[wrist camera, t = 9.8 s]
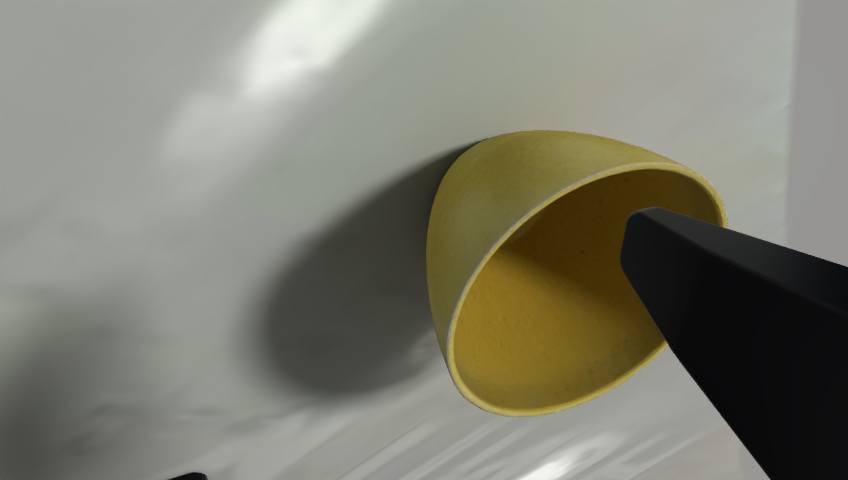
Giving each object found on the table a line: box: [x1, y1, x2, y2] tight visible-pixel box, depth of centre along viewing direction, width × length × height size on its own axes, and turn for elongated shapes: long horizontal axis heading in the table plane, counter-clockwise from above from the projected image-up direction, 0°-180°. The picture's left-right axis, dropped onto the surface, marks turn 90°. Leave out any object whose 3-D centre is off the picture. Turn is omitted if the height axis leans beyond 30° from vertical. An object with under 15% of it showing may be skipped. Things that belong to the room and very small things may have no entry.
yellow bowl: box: [426, 130, 728, 417], centre depth 23 cm, size 10×10×7 cm
